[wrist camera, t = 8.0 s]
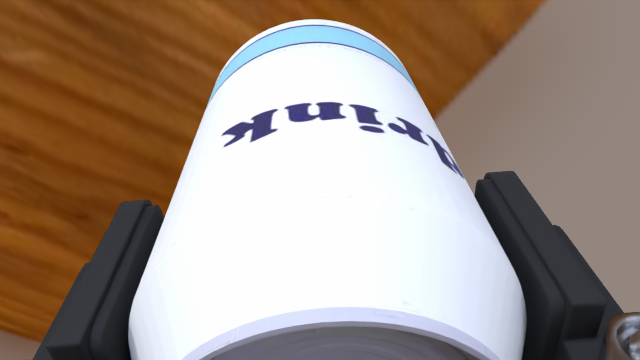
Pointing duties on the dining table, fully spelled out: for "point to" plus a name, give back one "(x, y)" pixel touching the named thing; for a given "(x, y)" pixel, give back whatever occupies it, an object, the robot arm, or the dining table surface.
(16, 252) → the dining table surface
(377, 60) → the beverage can
